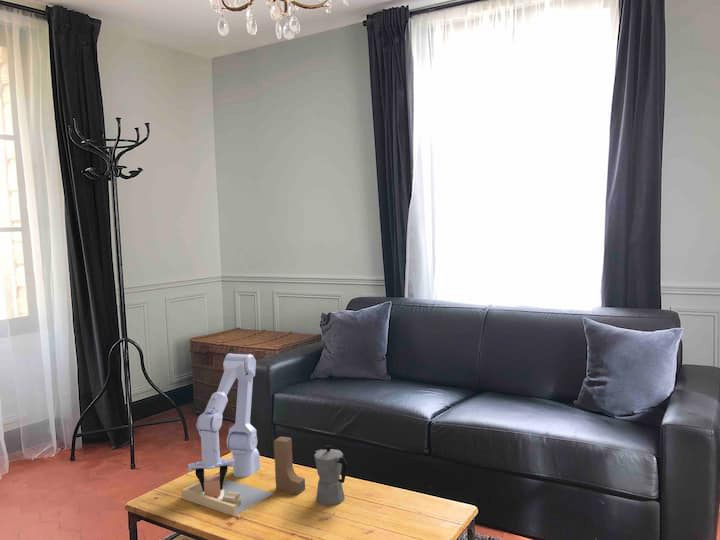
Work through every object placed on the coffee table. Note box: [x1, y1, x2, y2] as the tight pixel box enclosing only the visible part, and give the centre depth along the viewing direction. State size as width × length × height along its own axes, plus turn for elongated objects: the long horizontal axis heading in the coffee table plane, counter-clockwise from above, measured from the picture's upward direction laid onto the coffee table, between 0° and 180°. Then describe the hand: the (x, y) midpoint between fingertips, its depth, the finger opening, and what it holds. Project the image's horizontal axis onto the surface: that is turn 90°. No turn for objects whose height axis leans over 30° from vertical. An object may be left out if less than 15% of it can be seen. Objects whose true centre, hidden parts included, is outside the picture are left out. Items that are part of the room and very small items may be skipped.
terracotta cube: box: [204, 474, 221, 497], centre depth 196 cm, size 5×5×5 cm
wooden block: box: [273, 435, 306, 495], centre depth 198 cm, size 9×4×18 cm, turn 66°
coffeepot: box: [313, 444, 349, 507], centre depth 191 cm, size 15×9×18 cm, turn 43°
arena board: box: [181, 471, 275, 517], centre depth 195 cm, size 18×24×4 cm
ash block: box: [223, 491, 241, 508], centre depth 187 cm, size 4×4×4 cm
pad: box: [203, 490, 224, 500], centre depth 196 cm, size 7×7×1 cm
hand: (212, 489), depth 196 cm, fingers closed on terracotta cube, 5 cm apart
